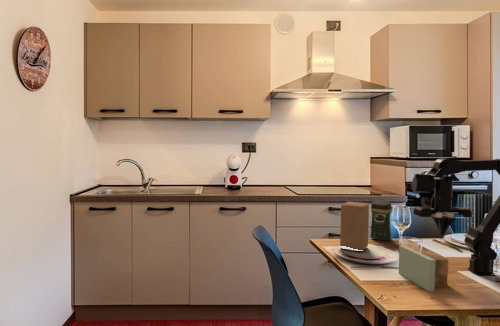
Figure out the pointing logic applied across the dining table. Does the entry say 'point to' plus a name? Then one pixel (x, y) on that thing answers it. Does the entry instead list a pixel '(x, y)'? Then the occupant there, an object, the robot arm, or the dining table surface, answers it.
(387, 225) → the coffee jar
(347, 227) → the wooden block
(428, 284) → the stop board
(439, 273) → the walnut block
